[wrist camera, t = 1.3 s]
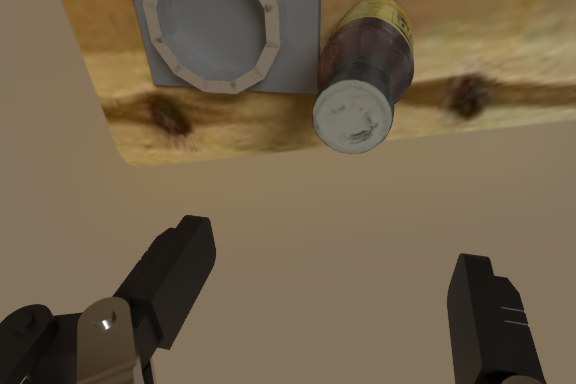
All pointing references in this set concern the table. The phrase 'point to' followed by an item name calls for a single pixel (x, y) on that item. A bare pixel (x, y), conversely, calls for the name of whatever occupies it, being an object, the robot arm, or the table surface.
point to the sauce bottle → (363, 76)
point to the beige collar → (201, 73)
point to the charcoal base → (242, 41)
